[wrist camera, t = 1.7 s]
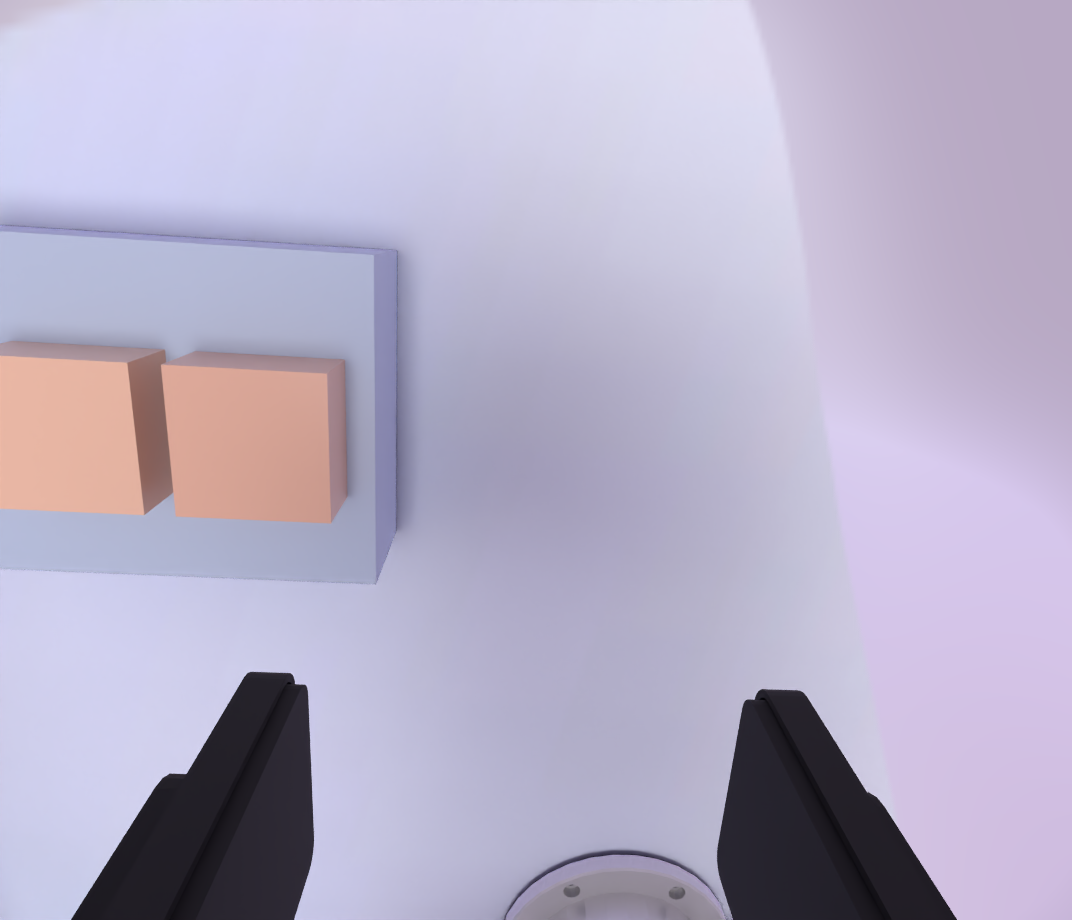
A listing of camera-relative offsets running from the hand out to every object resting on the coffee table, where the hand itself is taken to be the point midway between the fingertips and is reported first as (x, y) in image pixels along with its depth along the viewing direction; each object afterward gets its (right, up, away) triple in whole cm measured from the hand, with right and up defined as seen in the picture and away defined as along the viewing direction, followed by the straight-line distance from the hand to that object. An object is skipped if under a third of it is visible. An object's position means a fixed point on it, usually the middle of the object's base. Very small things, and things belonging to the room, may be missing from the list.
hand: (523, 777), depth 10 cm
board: (-13, +7, +20) cm, 25 cm away
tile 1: (-9, +6, +15) cm, 19 cm away
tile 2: (-15, +6, +15) cm, 22 cm away
